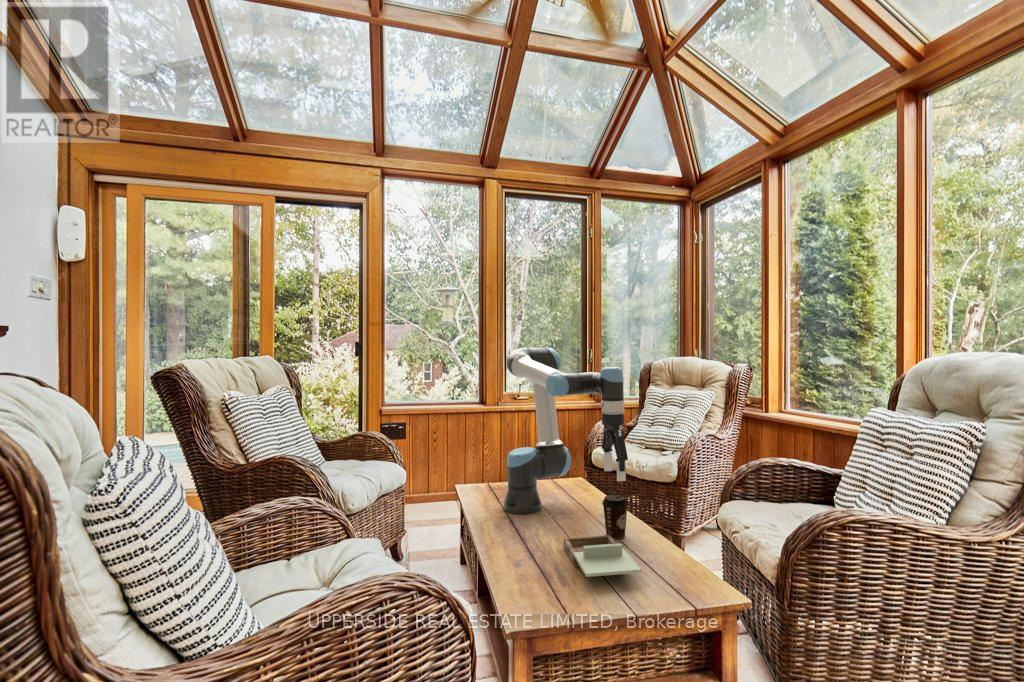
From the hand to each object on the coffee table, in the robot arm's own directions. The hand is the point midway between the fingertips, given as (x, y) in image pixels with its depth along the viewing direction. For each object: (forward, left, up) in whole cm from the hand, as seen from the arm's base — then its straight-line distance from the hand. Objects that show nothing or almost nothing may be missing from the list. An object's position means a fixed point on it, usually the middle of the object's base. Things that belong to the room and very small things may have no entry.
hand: (614, 475), depth 169 cm
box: (+14, -12, -20) cm, 27 cm away
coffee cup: (0, 0, -20) cm, 21 cm away
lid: (+27, -12, -17) cm, 34 cm away
